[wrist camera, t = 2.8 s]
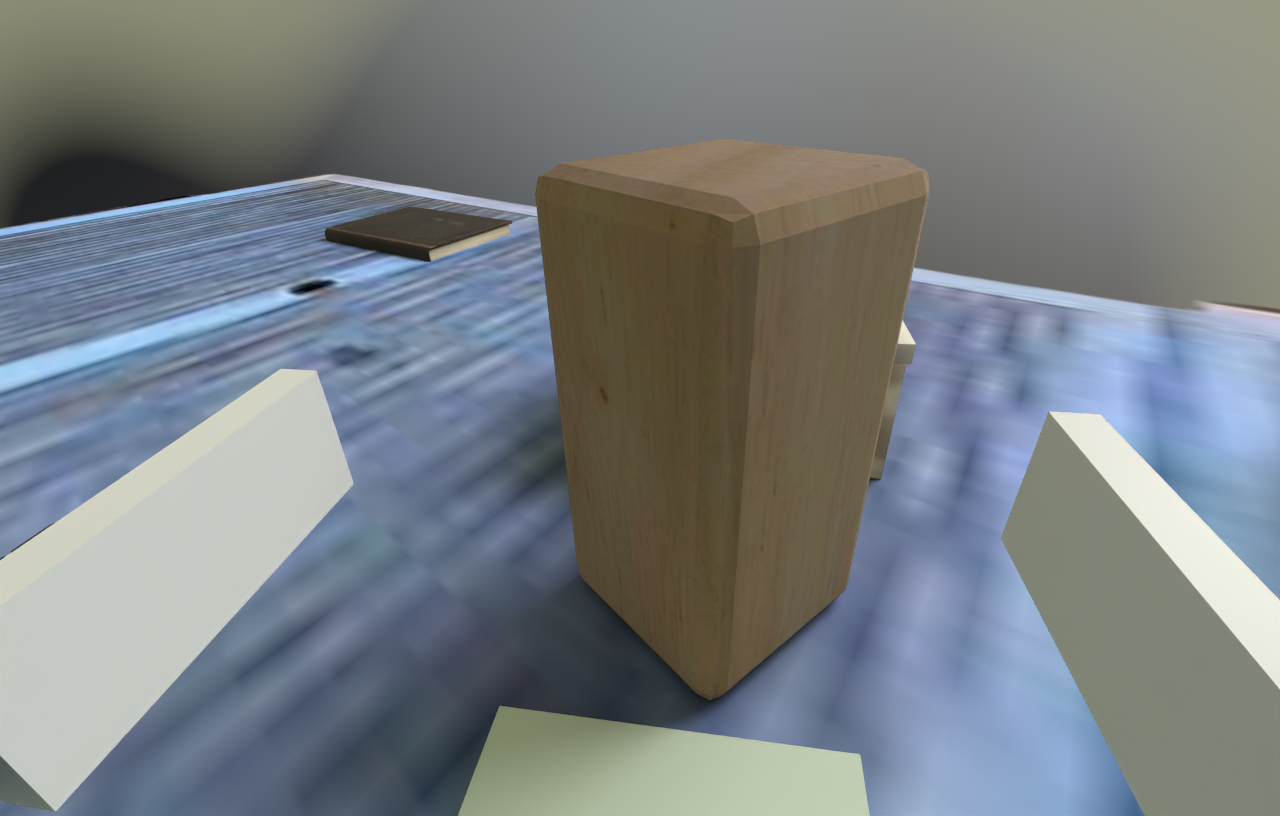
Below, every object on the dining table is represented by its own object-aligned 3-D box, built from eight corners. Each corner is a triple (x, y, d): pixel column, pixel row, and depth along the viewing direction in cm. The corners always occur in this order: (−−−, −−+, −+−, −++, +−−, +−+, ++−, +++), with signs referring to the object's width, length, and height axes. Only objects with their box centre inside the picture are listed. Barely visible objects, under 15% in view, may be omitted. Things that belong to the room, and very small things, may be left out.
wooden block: (570, 578, 31) (519, 163, 21) (709, 496, 36) (723, 134, 26) (709, 720, 24) (735, 210, 14) (854, 594, 30) (949, 157, 19)
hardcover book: (413, 220, 102) (410, 206, 101) (513, 236, 91) (511, 220, 90) (327, 244, 91) (323, 228, 89) (430, 265, 80) (426, 248, 78)
